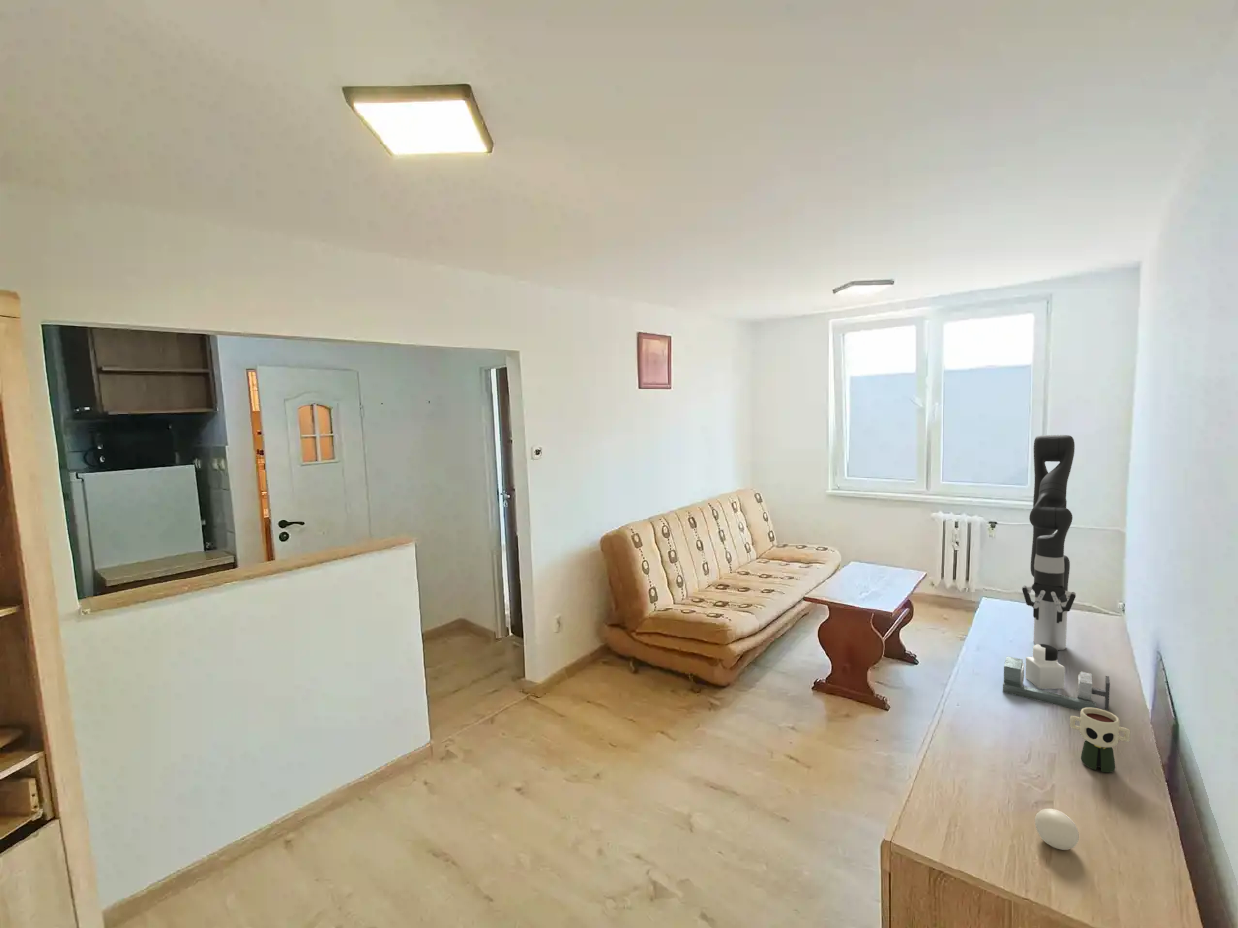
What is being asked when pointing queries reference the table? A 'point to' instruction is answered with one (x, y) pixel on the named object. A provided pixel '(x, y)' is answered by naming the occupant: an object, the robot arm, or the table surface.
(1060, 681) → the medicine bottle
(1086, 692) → the sliding jaw
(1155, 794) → the table surface
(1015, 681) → the vise bed
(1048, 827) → the white egg
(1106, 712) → the character mug
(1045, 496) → the robot arm
